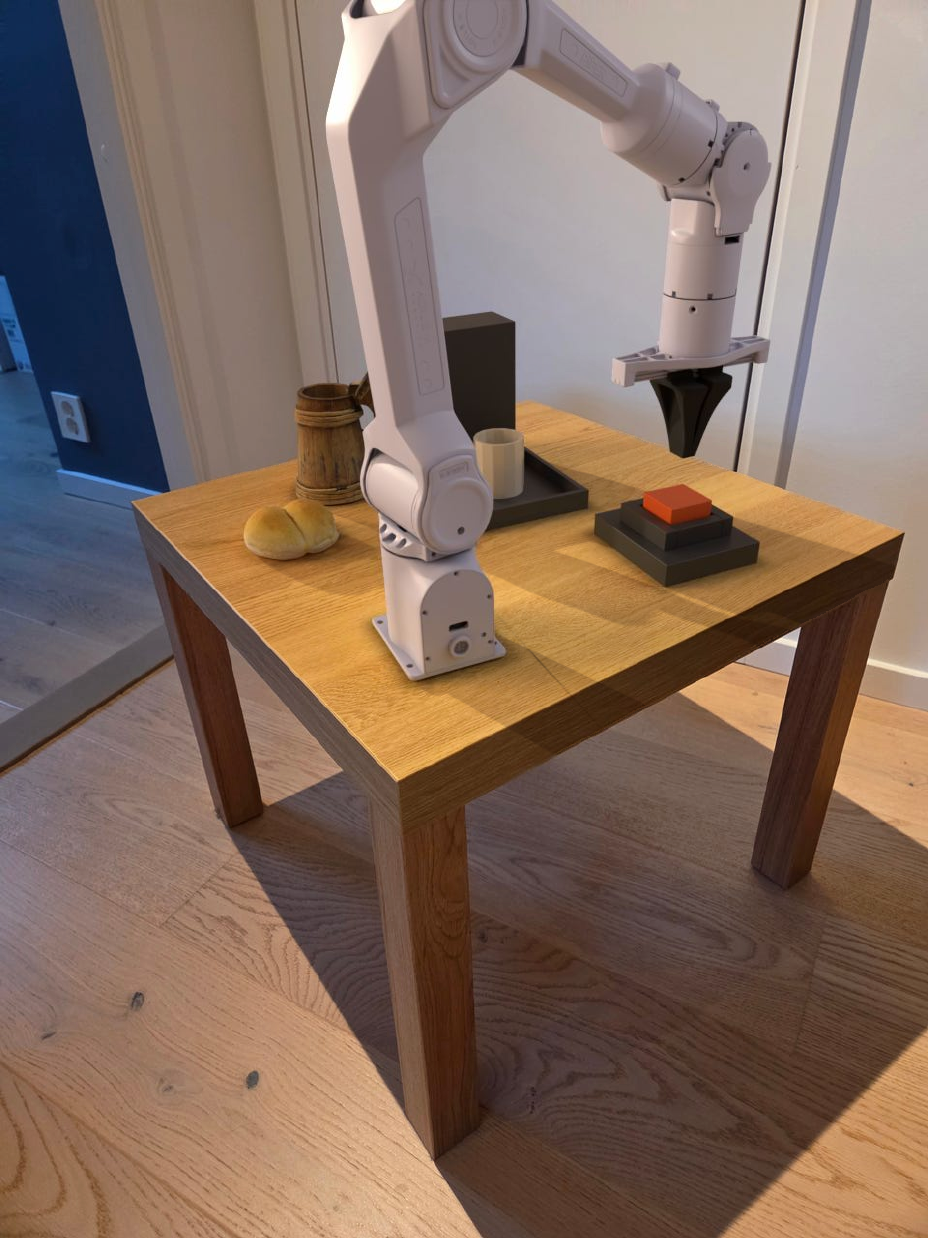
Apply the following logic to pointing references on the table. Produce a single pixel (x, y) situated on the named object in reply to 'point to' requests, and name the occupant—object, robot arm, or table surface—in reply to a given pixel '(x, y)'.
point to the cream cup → (501, 460)
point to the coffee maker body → (482, 370)
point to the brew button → (677, 504)
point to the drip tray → (539, 495)
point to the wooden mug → (331, 440)
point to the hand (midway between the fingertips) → (682, 453)
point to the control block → (676, 543)
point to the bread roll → (291, 530)
